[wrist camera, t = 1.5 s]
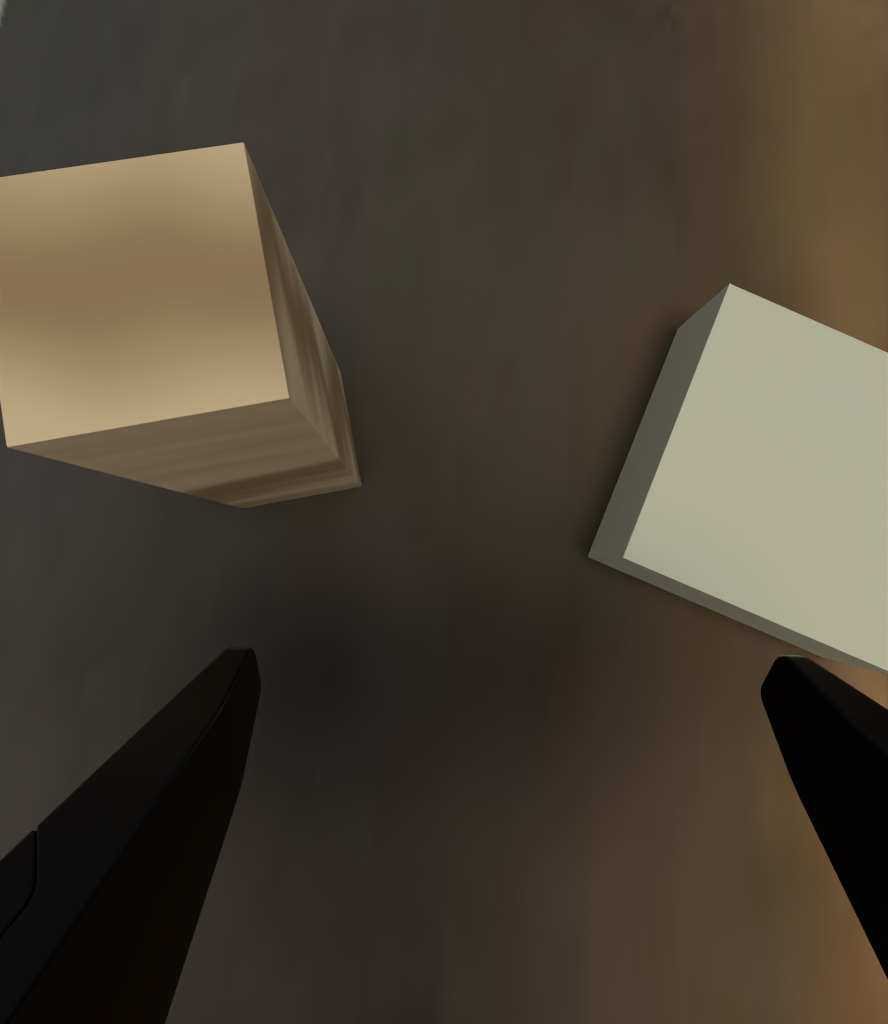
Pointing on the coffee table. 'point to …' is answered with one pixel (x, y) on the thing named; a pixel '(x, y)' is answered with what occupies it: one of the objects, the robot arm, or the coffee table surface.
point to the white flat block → (763, 479)
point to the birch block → (166, 331)
